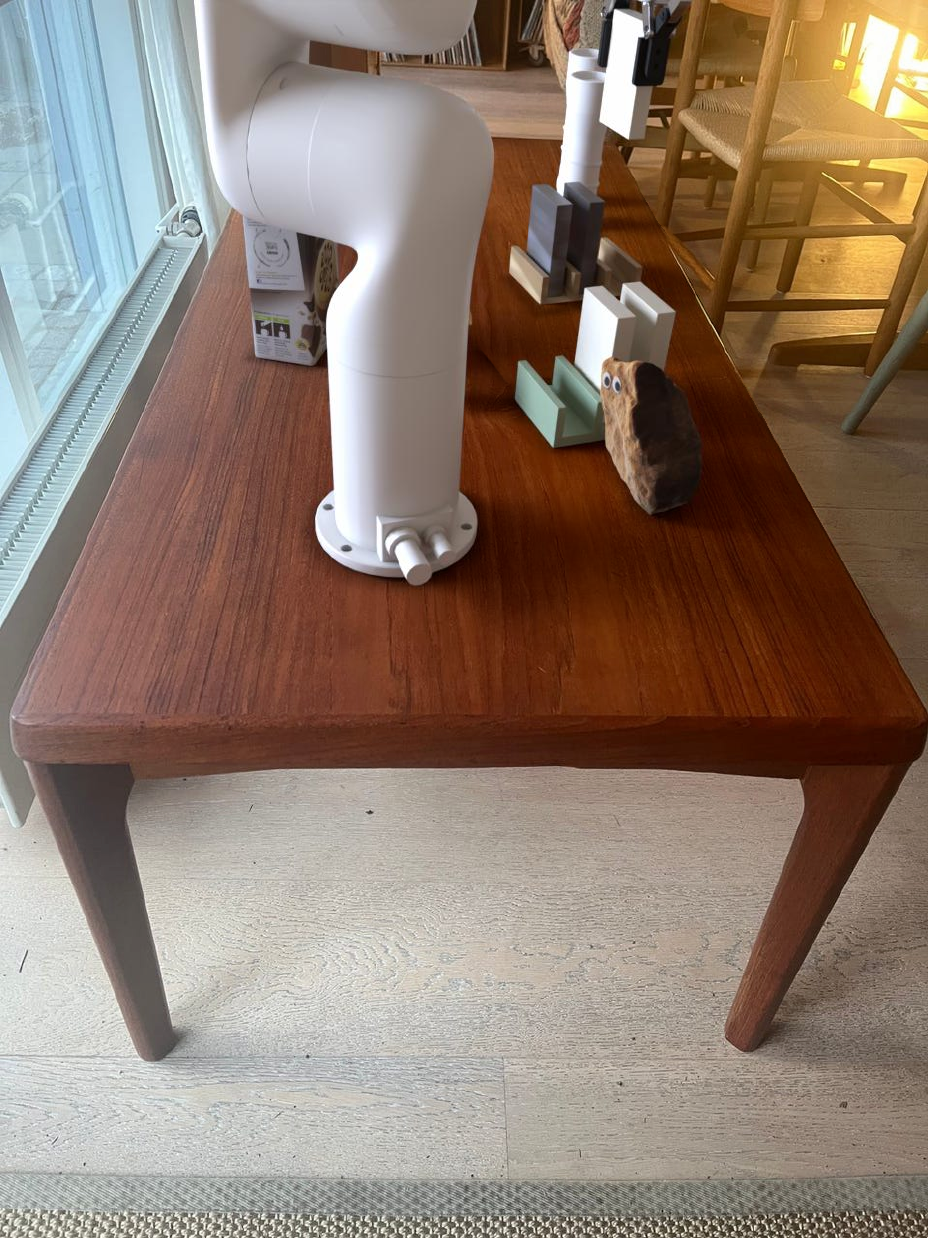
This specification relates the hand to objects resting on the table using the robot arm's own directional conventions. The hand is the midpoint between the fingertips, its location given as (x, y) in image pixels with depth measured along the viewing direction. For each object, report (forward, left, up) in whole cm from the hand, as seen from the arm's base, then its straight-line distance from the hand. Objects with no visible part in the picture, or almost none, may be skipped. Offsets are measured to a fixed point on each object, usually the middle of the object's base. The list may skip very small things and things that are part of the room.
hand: (629, 73), depth 95 cm
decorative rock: (-34, +12, -23) cm, 43 cm away
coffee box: (-2, +34, -23) cm, 42 cm away
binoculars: (+26, -9, -23) cm, 36 cm away
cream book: (0, 0, -5) cm, 5 cm away
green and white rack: (-23, +11, -23) cm, 34 cm away
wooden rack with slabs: (+3, +1, -23) cm, 23 cm away
